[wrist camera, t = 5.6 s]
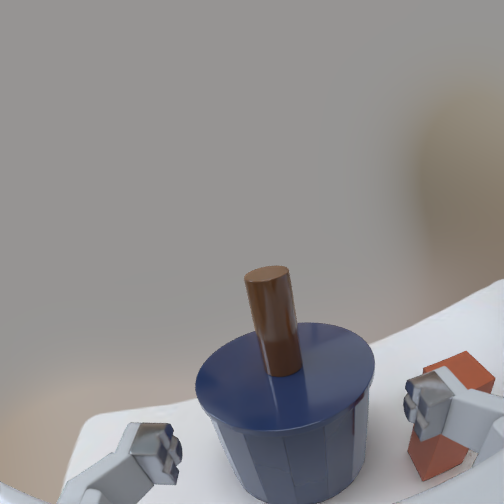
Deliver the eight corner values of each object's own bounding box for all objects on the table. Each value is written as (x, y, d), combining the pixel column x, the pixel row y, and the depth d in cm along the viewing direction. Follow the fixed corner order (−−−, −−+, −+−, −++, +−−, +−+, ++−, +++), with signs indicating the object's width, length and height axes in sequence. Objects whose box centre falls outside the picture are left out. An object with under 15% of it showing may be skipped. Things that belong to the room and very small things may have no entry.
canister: (384, 428, 23) (390, 340, 21) (320, 527, 15) (313, 460, 12) (283, 401, 31) (268, 322, 29) (209, 470, 22) (170, 391, 20)
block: (462, 463, 15) (495, 378, 13) (422, 481, 16) (450, 401, 13) (444, 435, 19) (466, 350, 17) (407, 450, 19) (423, 367, 17)
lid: (396, 344, 21) (394, 243, 19) (316, 473, 12) (301, 346, 10) (268, 325, 29) (252, 244, 27) (166, 398, 20) (128, 300, 18)
